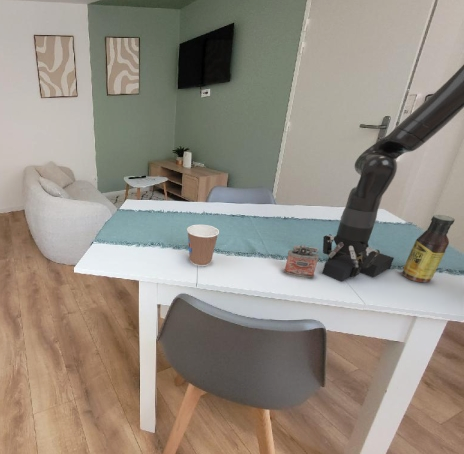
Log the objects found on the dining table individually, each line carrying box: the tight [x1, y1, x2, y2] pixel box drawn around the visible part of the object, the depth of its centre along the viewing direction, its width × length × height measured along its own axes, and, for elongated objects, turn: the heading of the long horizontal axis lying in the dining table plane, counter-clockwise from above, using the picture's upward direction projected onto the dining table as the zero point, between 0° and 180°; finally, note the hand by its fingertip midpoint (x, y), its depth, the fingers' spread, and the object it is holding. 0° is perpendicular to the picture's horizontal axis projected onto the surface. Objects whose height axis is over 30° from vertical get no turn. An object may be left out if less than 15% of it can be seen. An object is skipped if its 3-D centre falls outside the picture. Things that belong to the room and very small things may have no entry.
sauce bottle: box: [402, 214, 456, 283], centre depth 83 cm, size 7×6×20 cm
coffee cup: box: [186, 224, 220, 267], centre depth 100 cm, size 10×10×12 cm
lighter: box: [283, 244, 320, 280], centre depth 90 cm, size 8×3×10 cm, turn 65°
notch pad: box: [336, 250, 395, 278], centre depth 94 cm, size 12×10×4 cm
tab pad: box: [322, 255, 365, 283], centre depth 91 cm, size 6×13×4 cm, turn 116°
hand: (341, 271), depth 91 cm, fingers closed on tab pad, 5 cm apart
